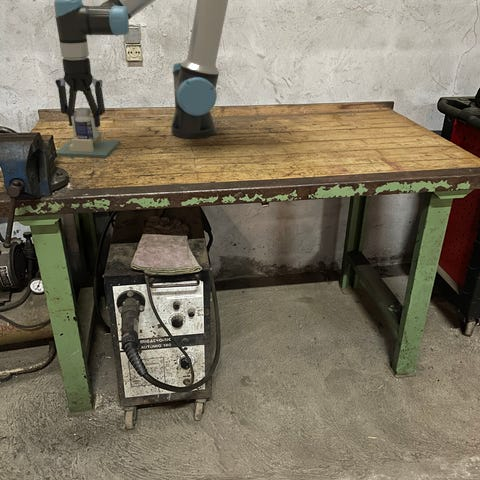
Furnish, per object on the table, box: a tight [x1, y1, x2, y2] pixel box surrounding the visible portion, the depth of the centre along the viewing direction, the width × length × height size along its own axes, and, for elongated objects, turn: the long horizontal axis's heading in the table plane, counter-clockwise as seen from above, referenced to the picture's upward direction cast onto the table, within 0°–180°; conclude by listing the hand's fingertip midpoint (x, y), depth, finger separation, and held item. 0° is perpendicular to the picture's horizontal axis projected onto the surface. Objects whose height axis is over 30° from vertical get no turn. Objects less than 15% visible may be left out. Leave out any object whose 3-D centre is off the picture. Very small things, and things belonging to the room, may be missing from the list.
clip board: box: [55, 130, 122, 159], centre depth 155 cm, size 16×14×4 cm
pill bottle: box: [75, 106, 96, 141], centre depth 152 cm, size 5×5×10 cm
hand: (86, 136), depth 154 cm, fingers closed on pill bottle, 5 cm apart
